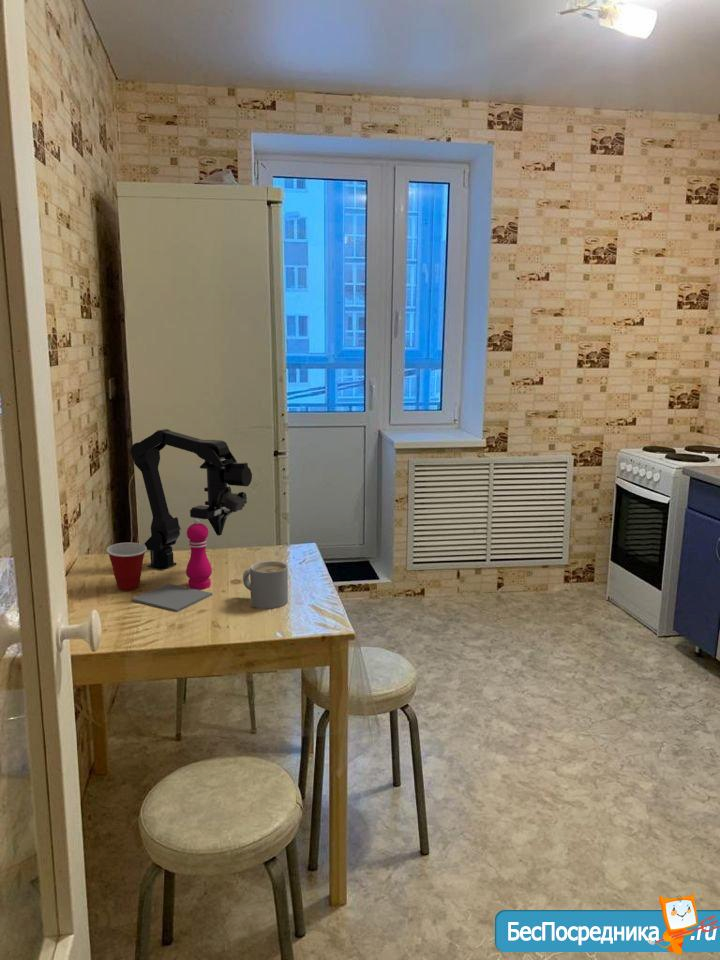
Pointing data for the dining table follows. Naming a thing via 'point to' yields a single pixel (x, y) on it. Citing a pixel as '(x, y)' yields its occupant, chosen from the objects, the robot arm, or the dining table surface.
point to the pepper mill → (198, 557)
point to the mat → (172, 597)
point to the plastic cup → (127, 564)
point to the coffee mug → (267, 584)
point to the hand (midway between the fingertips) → (219, 535)
